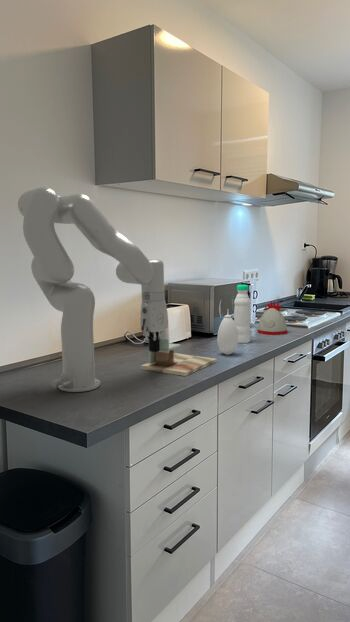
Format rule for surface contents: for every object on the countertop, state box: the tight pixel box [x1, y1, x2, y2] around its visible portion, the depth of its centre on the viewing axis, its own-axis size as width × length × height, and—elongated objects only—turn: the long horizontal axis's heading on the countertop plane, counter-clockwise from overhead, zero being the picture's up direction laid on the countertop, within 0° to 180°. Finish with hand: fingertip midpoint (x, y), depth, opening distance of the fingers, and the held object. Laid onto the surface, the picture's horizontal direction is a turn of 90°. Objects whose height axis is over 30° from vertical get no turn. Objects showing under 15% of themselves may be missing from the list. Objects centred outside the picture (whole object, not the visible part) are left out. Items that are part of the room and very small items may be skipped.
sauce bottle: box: [216, 309, 239, 356], centre depth 186 cm, size 8×8×18 cm
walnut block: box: [156, 349, 175, 367], centre depth 168 cm, size 4×4×6 cm
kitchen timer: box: [257, 301, 288, 336], centre depth 230 cm, size 14×14×15 cm
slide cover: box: [148, 337, 182, 364], centre depth 167 cm, size 8×8×9 cm
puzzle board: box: [140, 352, 218, 377], centre depth 171 cm, size 22×18×1 cm
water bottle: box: [233, 284, 252, 344], centre depth 208 cm, size 7×7×25 cm
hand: (154, 351), depth 162 cm, fingers closed
